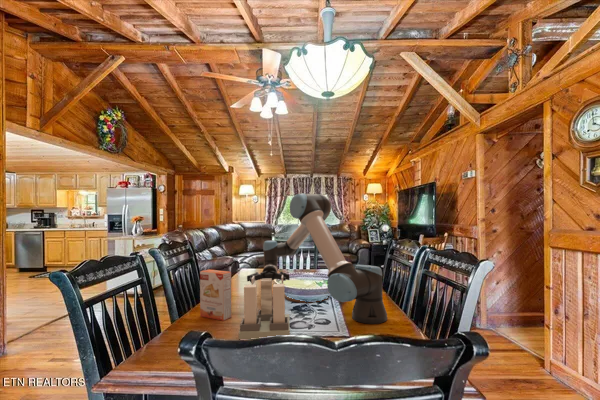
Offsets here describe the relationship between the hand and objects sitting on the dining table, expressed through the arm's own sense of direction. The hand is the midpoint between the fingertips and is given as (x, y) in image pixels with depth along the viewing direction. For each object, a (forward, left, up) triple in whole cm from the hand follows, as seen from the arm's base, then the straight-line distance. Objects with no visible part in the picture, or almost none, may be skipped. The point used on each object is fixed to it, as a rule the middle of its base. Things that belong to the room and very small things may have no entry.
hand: (267, 281), depth 143 cm
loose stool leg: (-8, +6, -13) cm, 16 cm away
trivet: (+12, -36, -17) cm, 42 cm away
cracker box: (+17, +17, -16) cm, 29 cm away
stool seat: (-12, +10, -16) cm, 22 cm away
